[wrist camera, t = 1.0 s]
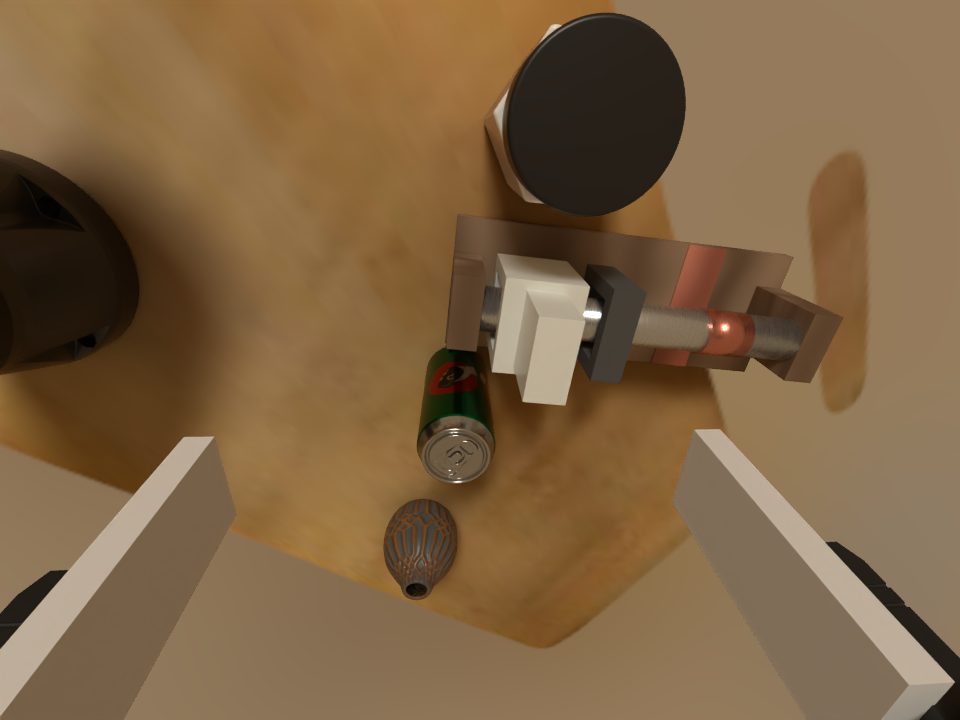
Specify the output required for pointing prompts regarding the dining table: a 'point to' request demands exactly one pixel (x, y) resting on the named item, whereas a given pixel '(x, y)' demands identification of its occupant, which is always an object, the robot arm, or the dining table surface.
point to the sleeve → (538, 325)
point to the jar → (590, 115)
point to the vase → (420, 546)
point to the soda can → (456, 417)
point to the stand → (642, 285)
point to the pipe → (686, 329)
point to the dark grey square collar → (611, 323)
